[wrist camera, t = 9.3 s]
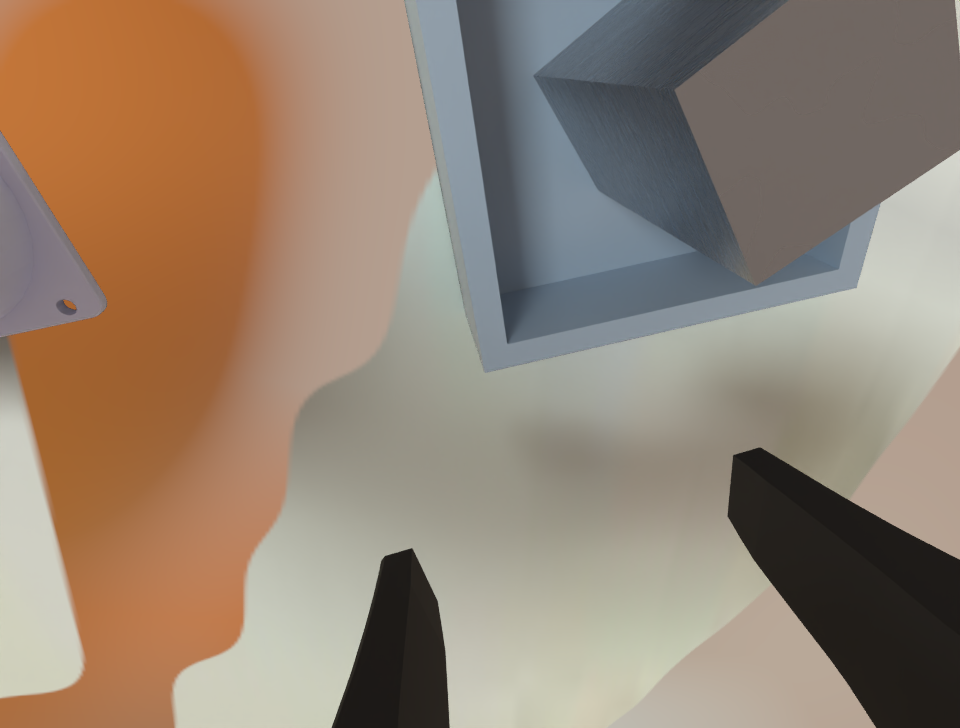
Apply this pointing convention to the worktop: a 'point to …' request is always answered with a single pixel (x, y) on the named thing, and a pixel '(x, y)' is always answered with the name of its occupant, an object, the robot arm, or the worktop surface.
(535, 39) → the bin
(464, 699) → the worktop surface
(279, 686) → the worktop surface
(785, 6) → the strut
